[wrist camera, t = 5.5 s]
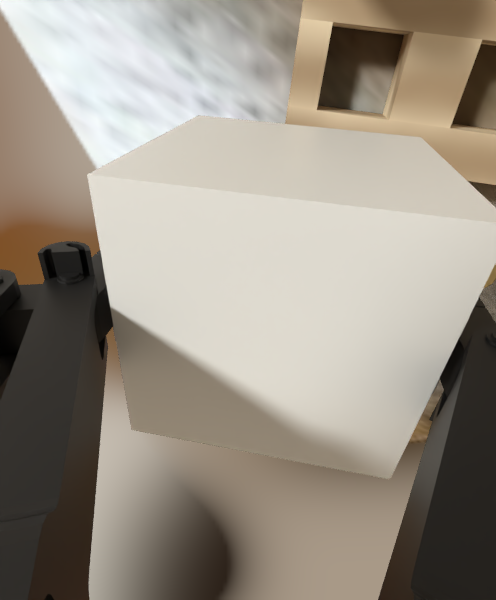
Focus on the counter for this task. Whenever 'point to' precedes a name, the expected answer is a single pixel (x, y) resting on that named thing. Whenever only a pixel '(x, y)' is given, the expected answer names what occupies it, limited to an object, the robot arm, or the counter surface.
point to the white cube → (288, 285)
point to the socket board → (404, 73)
